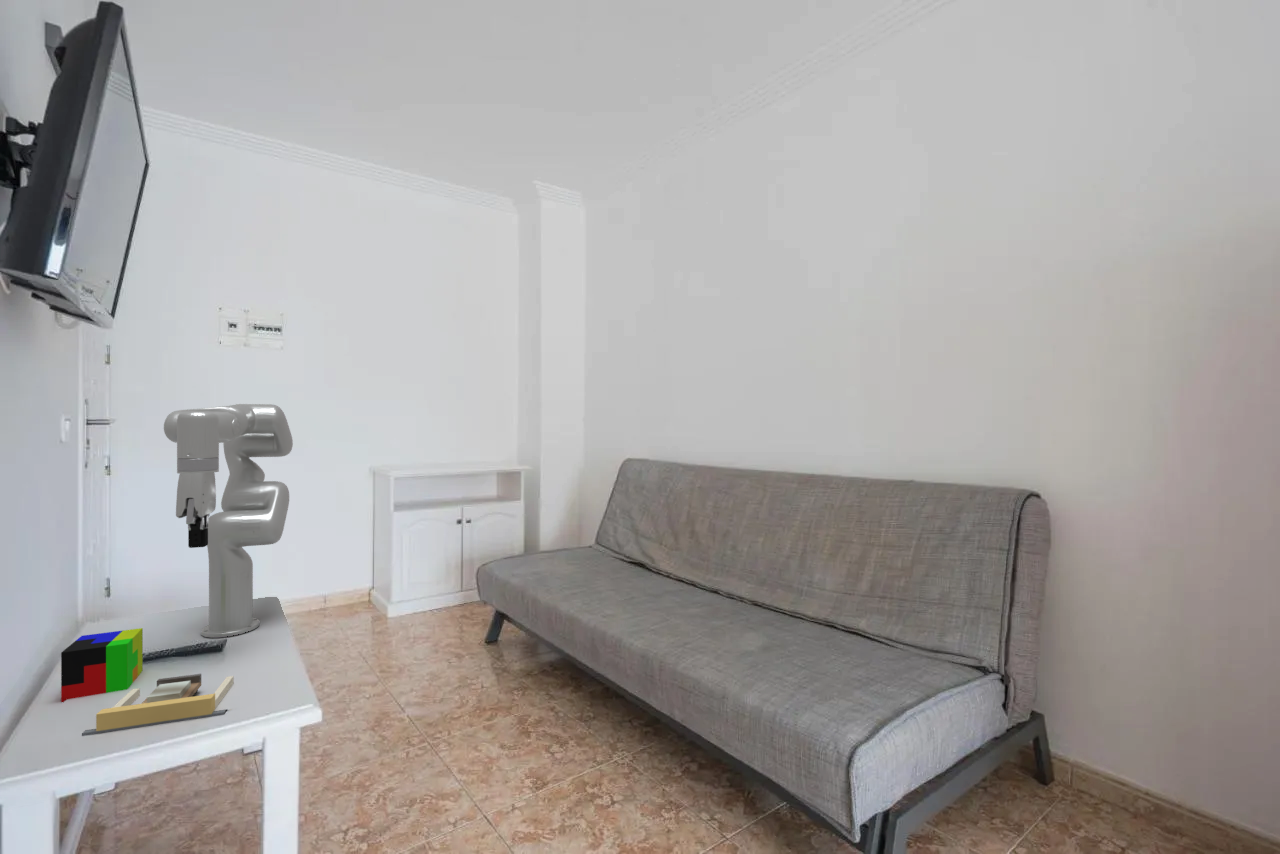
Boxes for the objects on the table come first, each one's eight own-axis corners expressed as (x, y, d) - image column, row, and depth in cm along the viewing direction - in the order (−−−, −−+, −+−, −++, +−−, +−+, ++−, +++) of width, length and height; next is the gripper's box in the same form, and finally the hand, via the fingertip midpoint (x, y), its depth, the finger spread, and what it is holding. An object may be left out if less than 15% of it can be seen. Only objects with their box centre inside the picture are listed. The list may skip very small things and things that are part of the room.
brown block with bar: (158, 696, 114) (158, 678, 113) (201, 691, 116) (201, 673, 116) (137, 718, 105) (137, 699, 105) (184, 712, 108) (184, 693, 108)
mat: (147, 674, 125) (147, 659, 125) (260, 660, 132) (260, 646, 132) (81, 735, 100) (81, 716, 100) (224, 714, 108) (224, 696, 108)
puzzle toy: (81, 682, 121) (81, 635, 121) (142, 673, 126) (142, 628, 126) (61, 703, 112) (61, 652, 112) (127, 692, 117) (127, 643, 117)
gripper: (190, 464, 135) (190, 541, 135) (164, 468, 121) (164, 555, 121) (228, 463, 138) (228, 539, 138) (206, 468, 124) (206, 552, 124)
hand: (198, 546), depth 129 cm, fingers closed
